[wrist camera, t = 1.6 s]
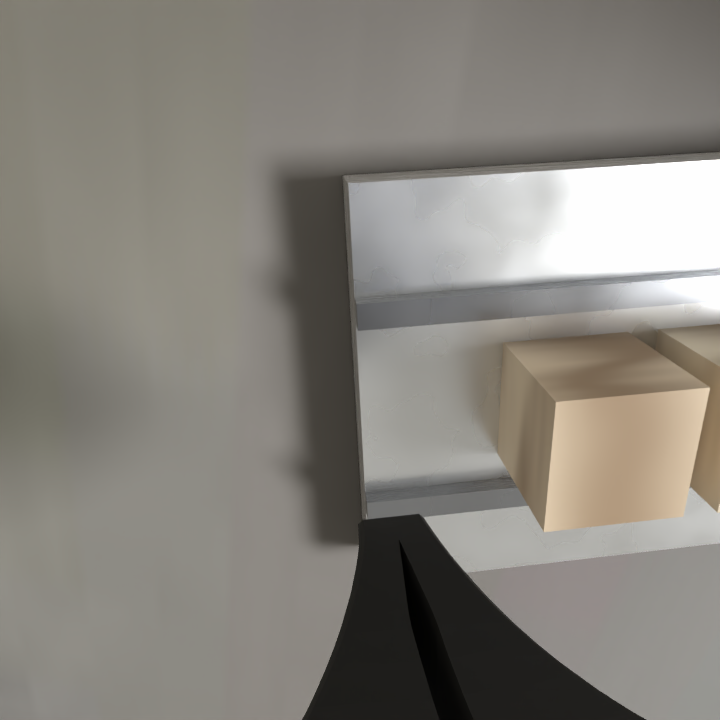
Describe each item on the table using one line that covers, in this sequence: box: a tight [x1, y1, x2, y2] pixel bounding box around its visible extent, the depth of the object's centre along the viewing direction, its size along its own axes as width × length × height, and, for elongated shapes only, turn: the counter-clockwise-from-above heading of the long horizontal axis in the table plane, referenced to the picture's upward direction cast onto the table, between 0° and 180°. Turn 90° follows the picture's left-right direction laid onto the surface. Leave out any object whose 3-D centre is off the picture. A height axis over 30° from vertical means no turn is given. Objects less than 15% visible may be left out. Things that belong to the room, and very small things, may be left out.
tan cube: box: [497, 332, 710, 532], centre depth 17 cm, size 4×4×4 cm
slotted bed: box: [342, 152, 720, 573], centre depth 20 cm, size 15×14×3 cm
